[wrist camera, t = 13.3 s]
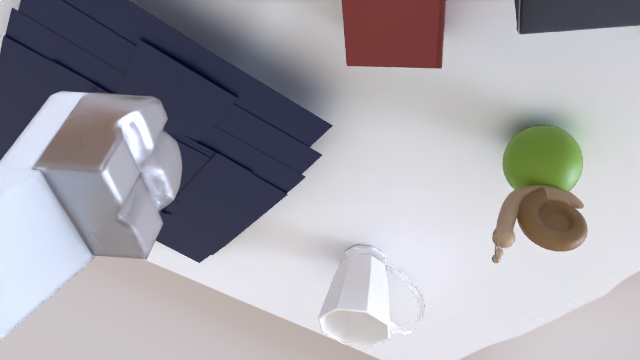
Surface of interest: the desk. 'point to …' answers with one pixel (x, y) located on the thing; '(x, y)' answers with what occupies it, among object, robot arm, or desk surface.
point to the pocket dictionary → (394, 33)
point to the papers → (179, 104)
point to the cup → (363, 300)
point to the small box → (574, 15)
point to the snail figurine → (542, 191)
